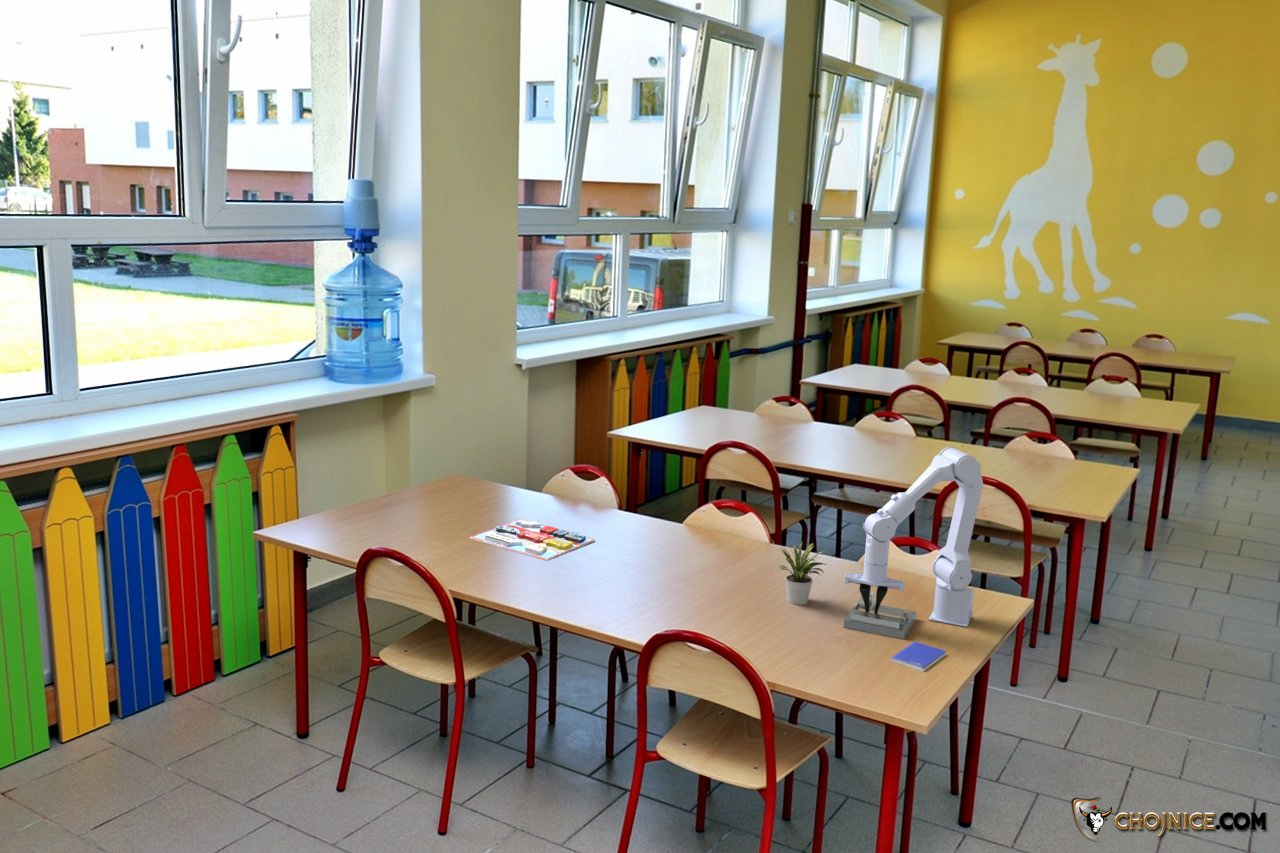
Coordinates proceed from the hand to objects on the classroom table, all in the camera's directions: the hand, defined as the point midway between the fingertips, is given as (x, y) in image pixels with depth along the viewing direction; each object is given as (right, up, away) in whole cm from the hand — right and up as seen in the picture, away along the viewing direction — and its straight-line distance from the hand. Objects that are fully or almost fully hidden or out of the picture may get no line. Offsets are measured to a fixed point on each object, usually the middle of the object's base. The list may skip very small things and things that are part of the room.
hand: (871, 613), depth 275 cm
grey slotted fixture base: (+2, -3, +1) cm, 3 cm away
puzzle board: (-91, +12, +56) cm, 107 cm away
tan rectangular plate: (+2, -1, -1) cm, 2 cm away
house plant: (-18, +1, +13) cm, 22 cm away
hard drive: (+7, -8, -19) cm, 22 cm away
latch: (0, +1, +6) cm, 6 cm away
